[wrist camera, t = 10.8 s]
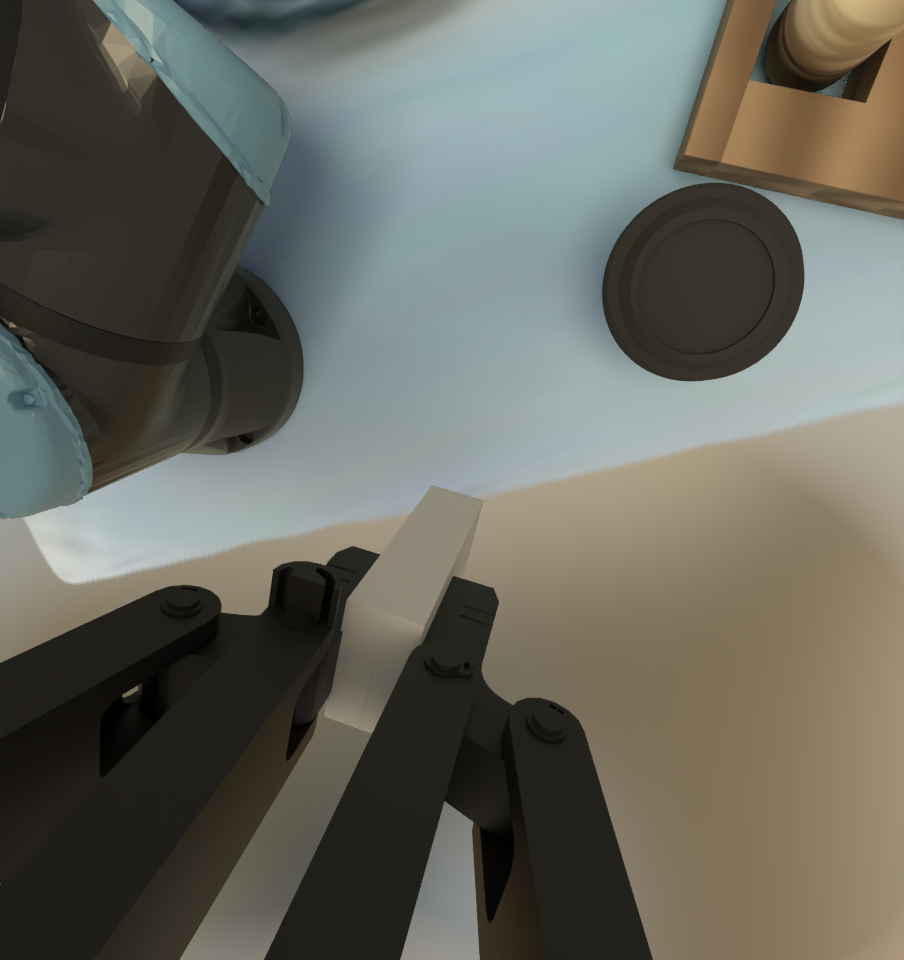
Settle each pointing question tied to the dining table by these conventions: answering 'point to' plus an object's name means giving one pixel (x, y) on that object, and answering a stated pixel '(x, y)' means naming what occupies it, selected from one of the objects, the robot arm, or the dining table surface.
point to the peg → (828, 39)
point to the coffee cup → (703, 282)
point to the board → (798, 124)
